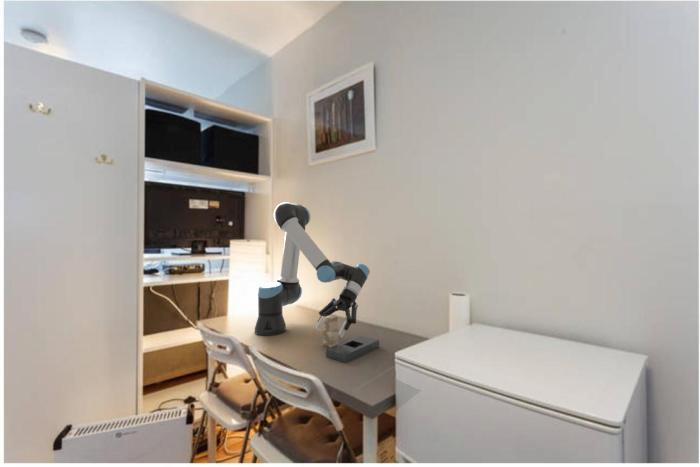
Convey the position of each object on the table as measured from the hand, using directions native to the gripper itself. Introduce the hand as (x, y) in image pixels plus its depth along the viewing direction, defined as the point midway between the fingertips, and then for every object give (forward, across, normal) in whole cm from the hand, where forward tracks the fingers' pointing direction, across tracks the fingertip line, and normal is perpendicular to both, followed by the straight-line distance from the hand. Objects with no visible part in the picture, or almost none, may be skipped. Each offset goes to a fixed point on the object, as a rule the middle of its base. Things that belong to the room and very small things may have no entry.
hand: (328, 333), depth 135 cm
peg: (+3, 0, -5) cm, 6 cm away
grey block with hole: (+3, -13, -5) cm, 14 cm away
